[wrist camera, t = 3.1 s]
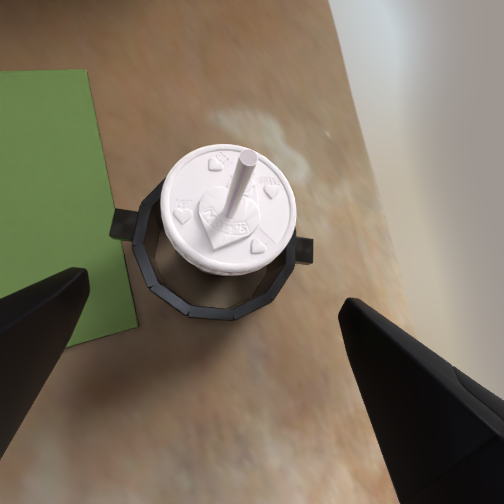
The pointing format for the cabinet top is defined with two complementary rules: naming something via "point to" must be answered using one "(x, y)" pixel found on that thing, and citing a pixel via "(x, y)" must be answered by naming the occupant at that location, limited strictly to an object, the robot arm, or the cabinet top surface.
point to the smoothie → (227, 209)
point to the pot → (144, 247)
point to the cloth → (59, 196)
